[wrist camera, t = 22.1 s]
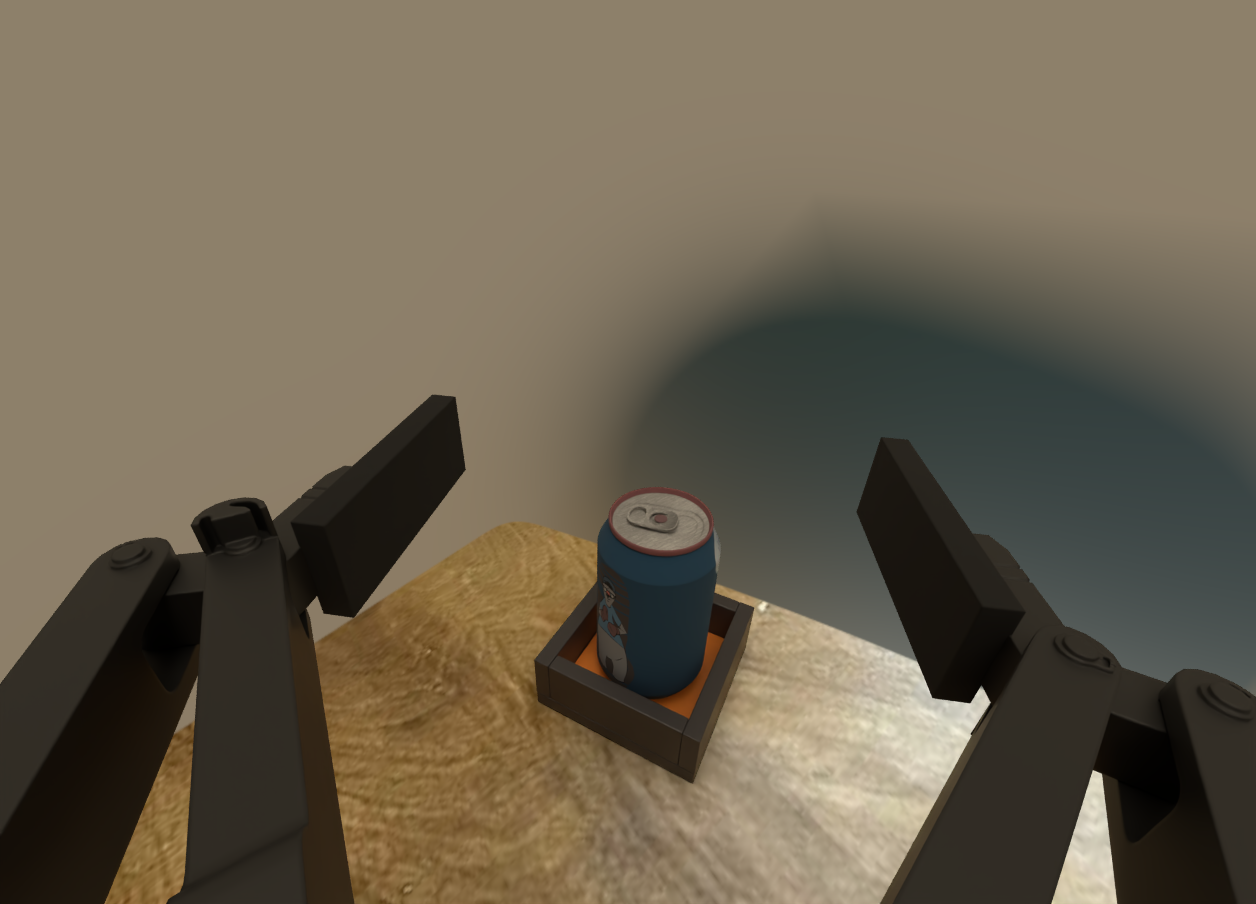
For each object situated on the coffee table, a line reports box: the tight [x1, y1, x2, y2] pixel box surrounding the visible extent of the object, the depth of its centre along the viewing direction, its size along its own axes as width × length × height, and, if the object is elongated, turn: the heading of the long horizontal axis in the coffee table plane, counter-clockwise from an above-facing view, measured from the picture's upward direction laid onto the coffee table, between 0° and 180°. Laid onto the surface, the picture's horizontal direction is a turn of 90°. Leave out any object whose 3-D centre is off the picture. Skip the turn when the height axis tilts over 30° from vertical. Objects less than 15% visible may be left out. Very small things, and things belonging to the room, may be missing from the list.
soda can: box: [597, 487, 721, 700], centre depth 31 cm, size 7×7×12 cm
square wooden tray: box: [534, 582, 754, 783], centre depth 34 cm, size 10×10×4 cm
